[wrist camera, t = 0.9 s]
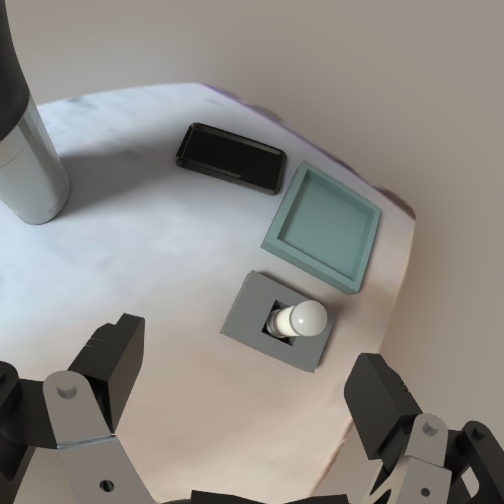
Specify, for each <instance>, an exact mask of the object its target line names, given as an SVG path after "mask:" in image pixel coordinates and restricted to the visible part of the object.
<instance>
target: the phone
mask: <svg viewBox="0 0 504 504" xmlns="http://www.w3.org/2000/svg"><path fill="white" fill-rule="evenodd" d="M286 159H287V156H286V154H285V152H284V151H282V150H280V149H277V148H275V147H272V146H269V145H266V144H263V143H261V142H258V141H255V140H252V139H249V138H246V137H243V136H240V135H237V134H234V133H231V132H228V131H224V130H221V129H218V128H215V127H211V126H208V125H205V124H201V123H193V124H191V125H190V126H189V129H188V131H187V133H186V135H185V137H184V139H183V142H182V144H181V146H180V148H179V150H178V153H177V155H176V163H177V165H179V166H180V167H183V168H186V169H190V170H193V171H196V172H199V173H203V174H206V175H209V176H213V177H216V178H219V179H222V180H225V181H228V182H232V183H235V184H238V185H241V186H244V187H247V188H250V189H253V190H256V191H259V192H262V193H265V194H268V195H276V194H277V193H278V191H279V190H280V187H281V182H282V177H283V173H284V168H285V164H286Z"/></svg>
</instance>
